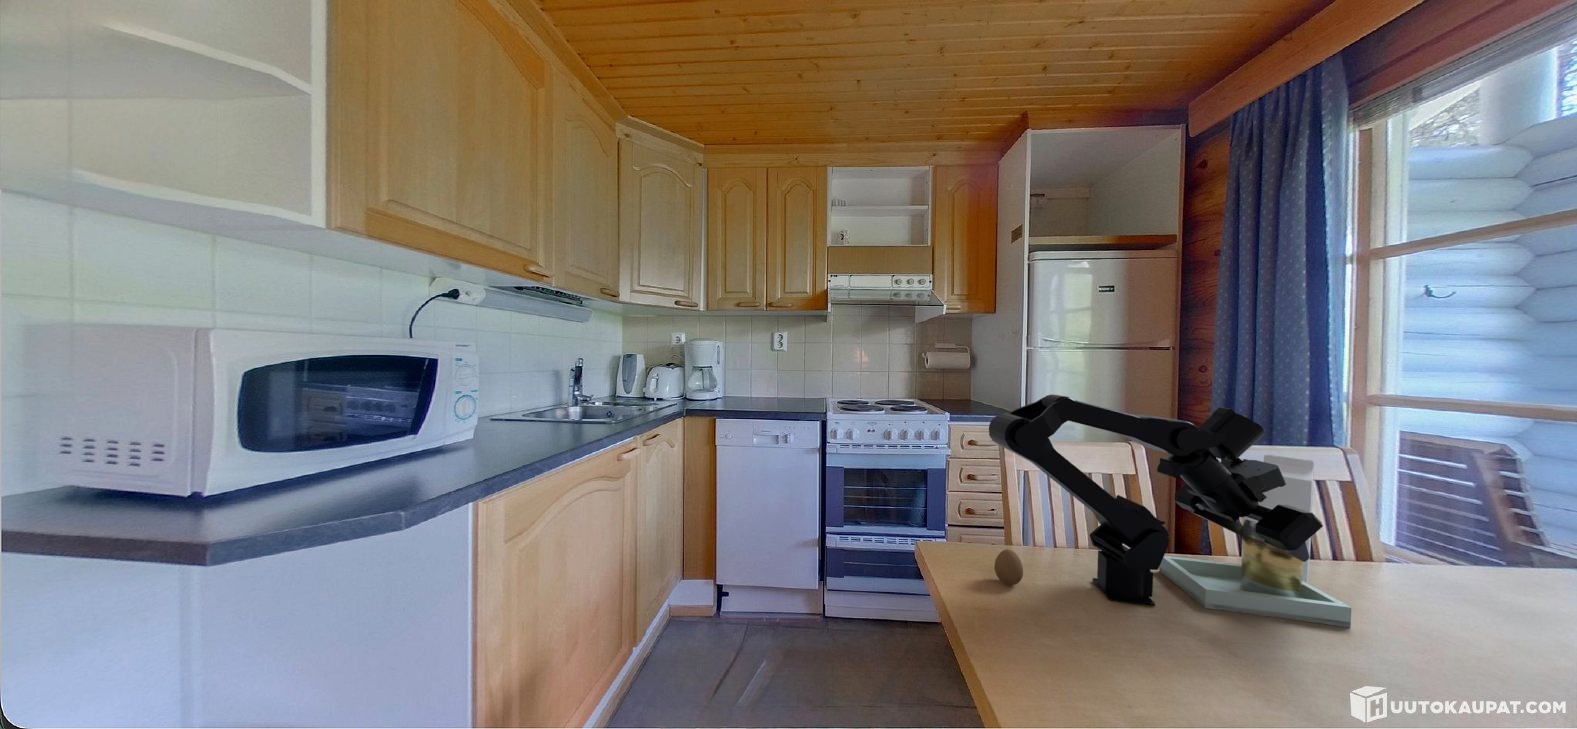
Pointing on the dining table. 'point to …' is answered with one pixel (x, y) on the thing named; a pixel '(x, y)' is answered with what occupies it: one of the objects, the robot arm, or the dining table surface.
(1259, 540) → the tin can
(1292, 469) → the milk
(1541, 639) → the dining table surface
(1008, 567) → the egg
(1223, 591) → the pale green tray
